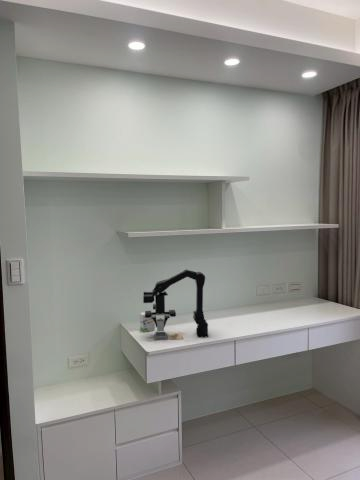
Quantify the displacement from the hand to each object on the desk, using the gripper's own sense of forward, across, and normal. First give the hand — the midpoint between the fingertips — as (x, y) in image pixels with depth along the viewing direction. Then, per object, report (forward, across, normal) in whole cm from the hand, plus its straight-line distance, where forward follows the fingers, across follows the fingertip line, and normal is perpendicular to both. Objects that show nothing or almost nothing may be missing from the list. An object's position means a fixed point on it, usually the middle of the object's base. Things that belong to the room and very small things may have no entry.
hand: (160, 327), depth 227 cm
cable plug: (+2, 0, 0) cm, 2 cm away
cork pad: (+6, -9, 0) cm, 11 cm away
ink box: (+7, +8, -14) cm, 17 cm away
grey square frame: (+6, 0, 0) cm, 6 cm away
